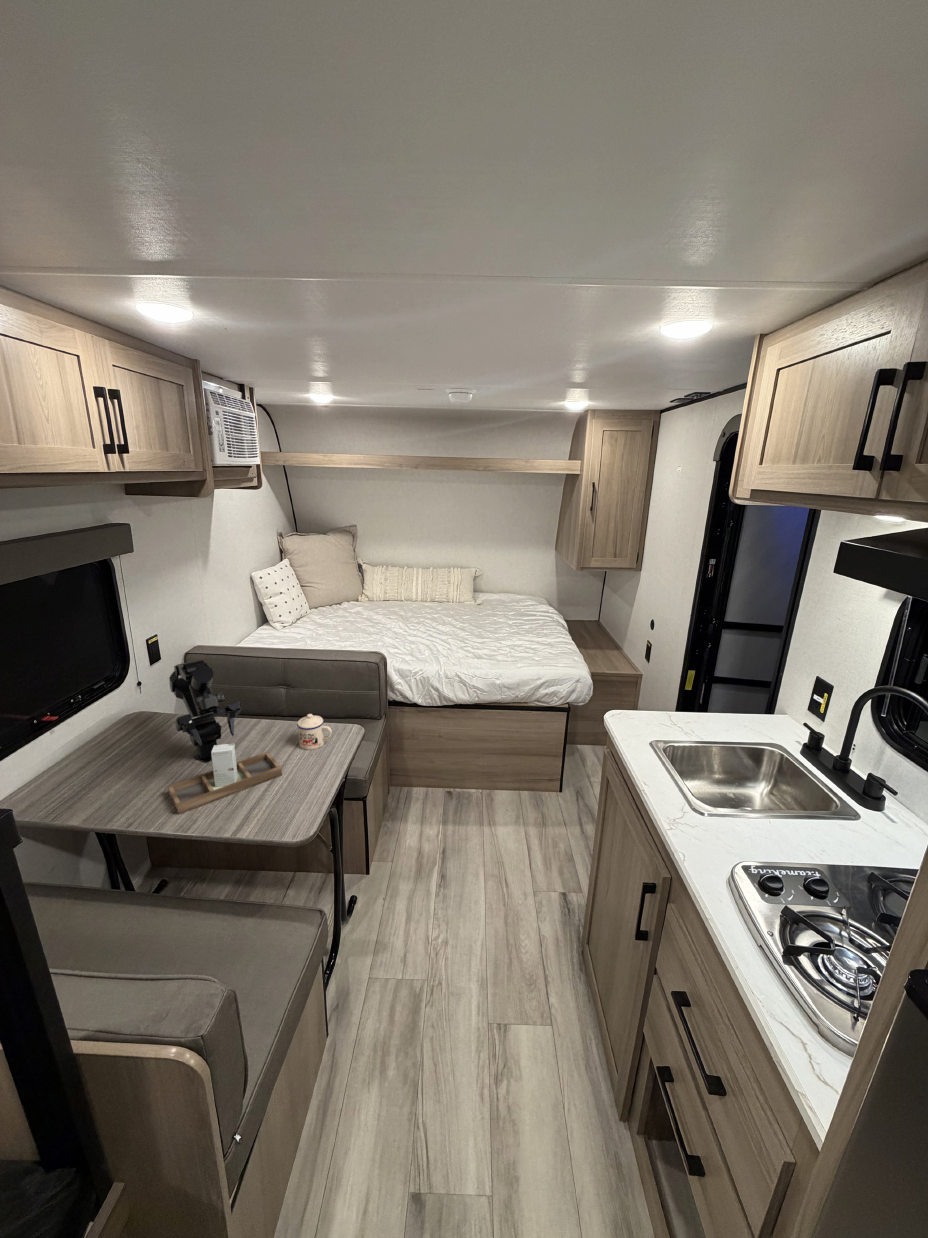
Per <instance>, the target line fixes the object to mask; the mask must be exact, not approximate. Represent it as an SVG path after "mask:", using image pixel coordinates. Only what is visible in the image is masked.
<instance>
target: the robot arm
mask: <svg viewBox="0 0 928 1238" xmlns="http://www.w3.org/2000/svg"><path fill="white" fill-rule="evenodd" d="M173 668H174V670H173V672H172V673H171V674H170V675H169V677H168V678H169V679H168V680H169V689H170V692H171V693H173V695H174V697H175V698H177V699H181V700H182V701H183V704H184V705H185V708H186V710H187V712H188V714H184V715H181V716H177V718H176V719H175V729H176V732H182V733H186V734H188V735H189V738H190V739H189V740H190V742H191V744H192V745H193V747H194V748H195V747H196V752H197V754H196V755H195V756H194V757H193V759H195V760H198V761H201V762H203V763H209V762H212V756H211V752H212V749H213V747H214V745H218V742H217V740H220V739H222V725H221V724H220V723H219V721H218V722H217V720H216V719H215V718H217V717H220V716H223V715H224V716H225V715H226V716H227V717H226V721H227V724H228V728H229V732H230V735H231V736H232V737H234V734H235V718H237V717H238V715H239V714H241V712H242V709H243V706H242V703H241V702H240V701H239V700H236V701H233V702H228V703H226V705H225V707H223V708H220V706H221V704H220V703H223V702H226V699H225V695H224V692H223V690H221V691H219V692H215V695H214V693H213V691H212V688H211V687H212V686H211V685H212V683H213V679H214V670H213V668H212V667H211V666H210V665H209V664H208V663H207V662H205V660H203V659H198V660H193V661H187V662H183V663H179V664H176V665H174V667H173ZM179 676H180V677H179ZM219 708H220V709H219Z"/></svg>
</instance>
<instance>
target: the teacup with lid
mask: <svg viewBox="0 0 928 1238" xmlns="http://www.w3.org/2000/svg"><path fill="white" fill-rule="evenodd" d="M324 722H325V721H324V718H323V717H321V716H320V715H315V714H314V715H313V714H312V713H308V714H306V716H303V717H301V718H300V719H299V720H298V721H297V724H296V726H297V730H298V743H299V746H300V747H299V748H300V749H303V750H306V751H312V750H316V749H319V748H321V747H323V745H325V741H326V740H329V738H330V737H331V736H332V734H333V731H332V730H333V729H331V727H330V726H328V725H324ZM325 730H327V731H328V732H329V733H328V735H327V736H325Z"/></svg>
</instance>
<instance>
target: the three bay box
mask: <svg viewBox="0 0 928 1238" xmlns="http://www.w3.org/2000/svg"><path fill="white" fill-rule="evenodd" d="M236 765H237V774H238V777H237V780H236V782H235V783H232V784H229V785H227V786H215V781H214V773H213V770H211V771H207V772H205V773H201V774H199V775H196V776H193V777H190V778H187V779H185V780H182V781H179V782H176V783H172V784H170V785H167V789H168V795H169V796H170V798H171V801H172V803H173V805H174V808H175V809H176V811H177V814H178V815H182V814H184V813H187V812H189V811H192V810H195V809H197V808H201V807H202V806H205V805H208V804H210V803H211V804H212V803H214V802H215V801H218V800H221V799H225V798H226V797H229V796H231V795H234V794H238V793H239V792H241V791H244V790H247V789H250V788H253V787H255V786H257V785H260V784H262V783H265V782H268V781H271V780H274V779H276V778H279V777H281V776H283V771H282V766H281V765H280V764H279V763H278V761H276V759H274V757H273V756H272V755H271V753H269V751H265V752H263V753H260V754H257V755H254V756H250V757H247V758H245V759H242V760H239V761H236Z"/></svg>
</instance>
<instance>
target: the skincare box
mask: <svg viewBox="0 0 928 1238" xmlns="http://www.w3.org/2000/svg"><path fill="white" fill-rule="evenodd" d="M235 748H236V746H235V743H222V744H217V745H214V747H213V749H212V752H211V756H212V760H211V762H212V771H213V773H214V781H215V786H227V785H229V784H232V783H235V782H236V780H237V777H238V774H237V765H236V762H237V757H236V749H235Z"/></svg>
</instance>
